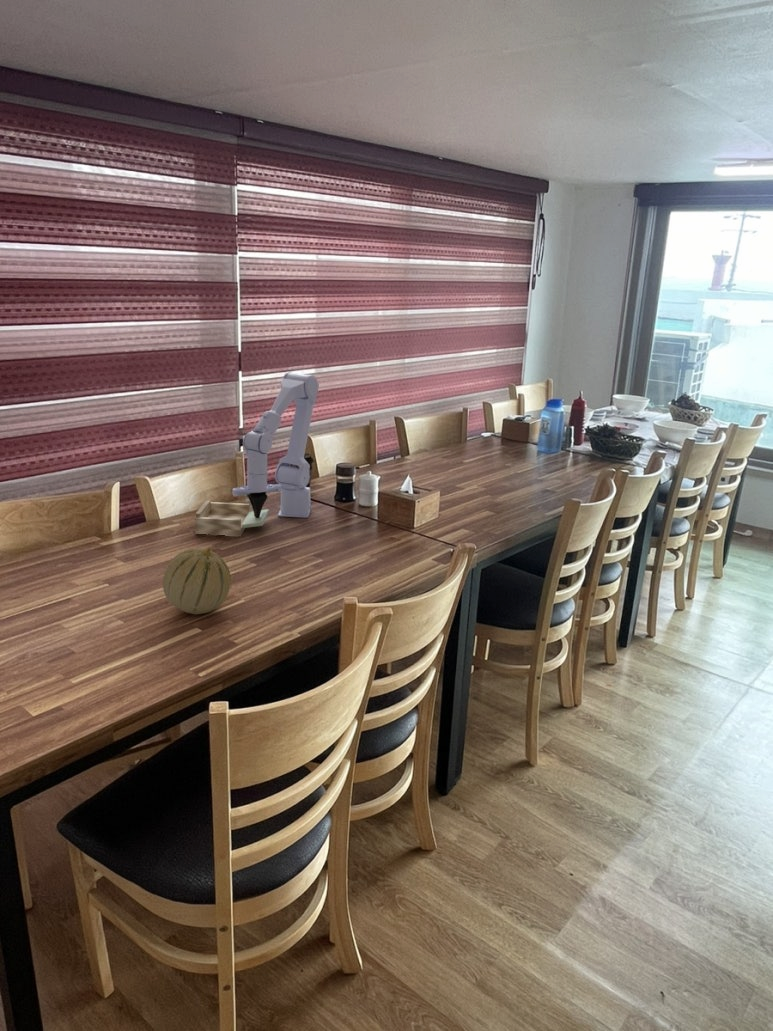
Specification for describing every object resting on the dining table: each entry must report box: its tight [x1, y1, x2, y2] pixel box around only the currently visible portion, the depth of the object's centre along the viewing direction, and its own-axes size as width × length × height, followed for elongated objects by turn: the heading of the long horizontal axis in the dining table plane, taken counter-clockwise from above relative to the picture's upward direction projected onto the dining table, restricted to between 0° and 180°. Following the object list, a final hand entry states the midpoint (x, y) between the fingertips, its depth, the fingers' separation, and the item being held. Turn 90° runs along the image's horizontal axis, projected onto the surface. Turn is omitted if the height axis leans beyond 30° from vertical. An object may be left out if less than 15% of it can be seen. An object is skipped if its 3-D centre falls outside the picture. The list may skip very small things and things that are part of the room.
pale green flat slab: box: [242, 508, 270, 529], centre depth 216 cm, size 1×12×6 cm
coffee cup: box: [290, 452, 315, 489], centre depth 251 cm, size 9×8×13 cm
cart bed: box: [194, 499, 251, 537], centre depth 216 cm, size 13×15×6 cm
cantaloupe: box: [162, 546, 232, 615], centre depth 162 cm, size 15×15×15 cm
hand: (257, 516), depth 215 cm, fingers closed, pressing on pale green flat slab
